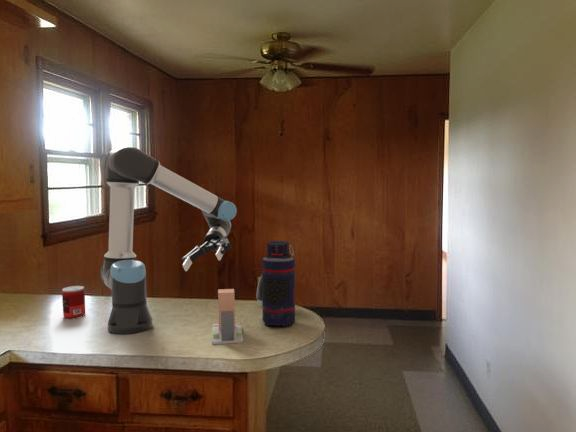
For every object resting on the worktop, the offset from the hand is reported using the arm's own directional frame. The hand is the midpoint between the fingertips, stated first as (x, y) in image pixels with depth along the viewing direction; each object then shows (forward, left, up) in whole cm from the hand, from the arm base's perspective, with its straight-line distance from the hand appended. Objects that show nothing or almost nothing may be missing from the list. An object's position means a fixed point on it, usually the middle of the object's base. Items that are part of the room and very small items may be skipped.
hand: (201, 262), depth 169 cm
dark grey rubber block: (+9, -21, -22) cm, 32 cm away
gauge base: (+9, -15, -22) cm, 28 cm away
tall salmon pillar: (+9, -10, -21) cm, 25 cm away
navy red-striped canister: (+28, -4, -23) cm, 36 cm away
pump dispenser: (+27, +18, -23) cm, 39 cm away
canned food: (-49, +18, -23) cm, 57 cm away
